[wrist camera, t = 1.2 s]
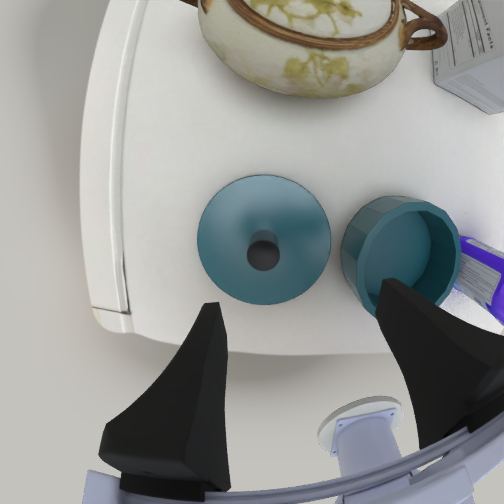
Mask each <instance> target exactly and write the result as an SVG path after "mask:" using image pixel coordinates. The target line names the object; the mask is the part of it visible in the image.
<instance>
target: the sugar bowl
mask: <svg viewBox="0 0 504 504" xmlns="http://www.w3.org/2000/svg"><path fill="white" fill-rule="evenodd" d="M180 1H183V2H185V3H187V4H190V5H192V6H195V7H197V8H198V18H199V23H200V27H201V30H202V33H203V35H204V37H205V39H206V41H207V43H208V44H209V46H210V48H211V49H212V50H213V51H214V53H215V54H216V55H217V56H218V57H219V59H220V60H221V61H222V62H223V63H224V64H225V65H227V66H228V67H229V68H230V69H232V70H233V71H234V72H236V73H237V74H239V75H240V76H242V77H244V78H245V79H247V80H249V81H250V82H253V83H255V84H257V85H259V86H262V87H264V88H266V89H269V90H272V91H275V92H279V93H282V94H286V95H292V96H297V97H306V98H337V97H343V96H348V95H352V94H356V93H359V92H362V91H365V90H367V89H369V88H372V87H373V86H375V85H377V84H378V83H380V82H381V81H383V80H384V79H385V78H386V77H387V76H388V75H390V73H391V72H392V71H393V70H394V69H395V67H396V66H397V64H398V63H399V62H400V60H401V58H402V56H403V54H404V52H405V50H434V49H438V48H441V47H443V46H444V45H445V44H446V42H447V40H448V33H447V30H446V28H445V26H444V24H443V23H442V21H441V20H440V19H439V18H438V17H436V16H434V15H433V14H431V13H429V12H427V11H426V10H424V9H422V8H421V7H419V6H418V5H416V4H414V3H413V2H411V1H410V0H180ZM404 8H406V9H408V10H410V11H412V12H413V13H415V14H416V15H418V16H419V17H420V18H418V19H413V20H411V21H409V22H407V18H406V14H405V11H404ZM421 29H429V30H433V31H434V32H435V34H433V35H431V36H428V37H417V38H411V36H412V35H413V34H414V32H416V31H418V30H421Z"/></svg>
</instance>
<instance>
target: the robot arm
mask: <svg viewBox="0 0 504 504" xmlns="http://www.w3.org/2000/svg"><path fill="white" fill-rule="evenodd" d="M375 315H376V318H377V321H378V323H379V326H380V329H381V331H382V333H383V335H384V337H385V339H386V341H387V343H388V345H389V347H390V349H391V351H392V353H393V355H394V357H395V359H396V361H397V363H398V365H399V367H400V369H401V371H402V373H403V376H404V379H405V382H406V385H407V388H408V391H409V394H410V398H411V402H412V405H413V409H414V414H415V419H416V423H417V431H418V438H419V448H420V450H419V451H417V452H415V453H412V454H410V455H408V456H405V457H403V458H402V457H401V454H400V451H399V449H398V446H397V443H396V440H395V438H394V435H393V432H392V430H391V427H390V426H391V424H392V421H393V419H394V416H395V413H396V408H389V409H385V410H381V411H377V412H372V413H368V414H363V415H358V416H353V417H347V418H341V419H338V420H337V421H336V427H335V433H334V438H333V443H332V448H331V453H330V455H331V456H332V457H335V456H338V461H339V466H340V472H341V478H336V479H332V480H328V481H323V482H318V483H313V484H308V485H302V486H296V487H288V488H282V489H272V490H260V491H244V492H227V491H228V490H229V489H230V488H231V483H230V474H229V465H228V455H227V444H226V430H225V429H226V428H225V410H224V409H225V389H226V375H227V361H228V348H227V334H226V330H225V325H224V321H223V317H222V313H221V308H220V304H219V302H213V303H205V304H204V305H203V306H202V308H201V310H200V312H199V315H198V317H197V319H196V321H195V323H194V324H193V326H192V328H191V330H190V332H189V334H188V335H187V337H186V339H185V341H184V342H183V344H182V345H181V347H180V348H179V350H178V352H177V353H176V355H175V356H174V358H173V359H172V360H171V362H170V363H169V365H168V366H167V367H166V369H165V370H164V371H163V372H162V374H161V375H160V376H159V377H158V378H157V379H156V380H155V382H154V383H153V384H152V385H151V386H150V387H149V388H148V389H147V390H146V391H145V392H144V393H143V394H142V395H141V396H140V397H139V398H138V399H137V400H136V401H135V402H134V403H132V405H130V406H129V407H128V408H127V409H126V410H124V411H123V412H122V413H120V414H119V415H118V416H116V417H115V418H114V419H112V420H111V421H110V422H108V423H107V424H106V426H105V429H104V431H103V435H102V440H101V444H100V449H99V454H98V455H99V457H100V458H101V459H102V460H103V461H104V462H105V463H107V464H109V465H110V466H112V467H114V468H116V469H117V470H119V471H121V472H122V473H121V478H118V477H115V476H112V475H108V474H104V473H100V472H96V471H93V470H88V471H87V477H86V482H85V488H84V495H83V501H82V504H297V503H304V502H310V501H315V500H320V499H325V498H329V497H334V496H338V495H339V497H338V499H337V500H336V501H335V504H475V503H474V500H473V497H472V492H473V491H474V488H473V485H474V484H476V483H477V482H478V481H479V480H481V479H482V478H483V477H485V476H486V475H487V474H488V473H489V472H491V471H492V470H493V469H494V468H495V467H496V466H498V465H499V464H500V463H501V462H502V461H503V460H504V336H502V335H499V334H495V333H492V332H489V331H486V330H483V329H481V328H479V327H476V326H474V325H471V324H469V323H467V322H465V321H463V320H461V319H459V318H457V317H455V316H453V315H452V314H450V313H448V312H446V311H445V310H443V309H441V308H440V307H438V306H437V305H435V304H433V303H432V302H430V301H429V300H427V299H426V298H424V297H423V296H421V295H420V294H419V293H417V292H416V291H414V290H413V289H411V288H410V287H408V286H407V285H405V284H404V283H402V282H401V281H399V280H397V279H396V278H394V277H393V278H387V279H382V283H381V288H380V293H379V298H378V302H377V306H376V311H375ZM441 456H443V457H442V459H440V460H439V461H437V462H435V463H434V464H432V465H430V466H428V467H427V468H426V469H424V470H423V471H421V472H420V471H419V470H417V469H416V468H419V467H421V466H423V465H425V464H427V463H429V462H431V461H433V460H435V459H437V458H439V457H441Z"/></svg>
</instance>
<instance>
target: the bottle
mask: <svg viewBox="0 0 504 504" xmlns="http://www.w3.org/2000/svg"><path fill="white" fill-rule="evenodd" d="M459 239H460V244H461V249H462V252H461V261H460V269H459V274H458V276H457V278H456V281H455V283H454V285H453V287H454V288H455V289H457V290H459V291H460V292H462V293H464V294H465V295H467V296H468V297H470V298H471V299H472V300H474V301H475V302H477V303H478V304H479V305H480V306H482V307H483V308H484V309H486V310H487V311H488V312H489V313H491V314H492V315H493V316H494V317H495V318H496V319H497V320H498V321H499V322H500V323H501V324H502V325H503V326H504V253H503V252H500V251H498V250H496V249H494V248H492V247H490V246H488V245H486V244H483V243H481V242H479V241H477V240H475V239H473V238H469V237H461V238H459Z"/></svg>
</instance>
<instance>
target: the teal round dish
mask: <svg viewBox="0 0 504 504" xmlns="http://www.w3.org/2000/svg"><path fill="white" fill-rule="evenodd" d="M461 252H462V249H461V244H460V239H459V234H458V230H457V227H456V226H455V224H454V223H453V222H452V220H451V219H450V217H449V216H448V214H447V213H446V212H445V211H444V210H442V209H440V208H439V207H437V206H435V205H433V204H431V203H429V202H426V201H422V200H418V199H413V198H409V197H404V196H387V197H382V198H379V199H376V200H374V201H372V202H370V203H369V204H367V205H366V206H364V207H363V208H362V209H361V210H360V211H359V212H358V213H357V214H356V215H355V216H354V218H353V219H352V220H351V222H350V224H349V225H348V227H347V230H346V232H345V234H344V238H343V241H342V247H341V264H342V269H343V272H344V275H345V277H346V279H347V281H348V284H349V286H350V287H351V289H352V290H353V292H354V293H355V295H356V296H357V298H358V299H359V301H360V302H361V304H362V305H363V307H364V308H365V309H366V310H367V311H368V312H369V313H370V314H371V315H372V316H374V317H375V318H376V315H375V311H376V306H377V302H378V298H379V293H380V288H381V283H382V279H387V278H393V277H394V278H396V279H397V280H399V281H401V282H402V283H404V284H405V285H407V286H408V287H410V288H411V289H413V290H414V291H416V292H417V293H419V294H420V295H421V296H423V297H424V298H426V299H427V300H429V301H430V302H432V303H433V304H435V305H437V306H438V307H439V306H440V304H441V303H442V302H443V301H444V300H445V299H446V297H447V296H448V295H449V293H450V292H451V290H452V287H453V285H454V283H455V281H456V278H457V276H458V274H459V269H460V261H461ZM376 319H377V318H376Z"/></svg>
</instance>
